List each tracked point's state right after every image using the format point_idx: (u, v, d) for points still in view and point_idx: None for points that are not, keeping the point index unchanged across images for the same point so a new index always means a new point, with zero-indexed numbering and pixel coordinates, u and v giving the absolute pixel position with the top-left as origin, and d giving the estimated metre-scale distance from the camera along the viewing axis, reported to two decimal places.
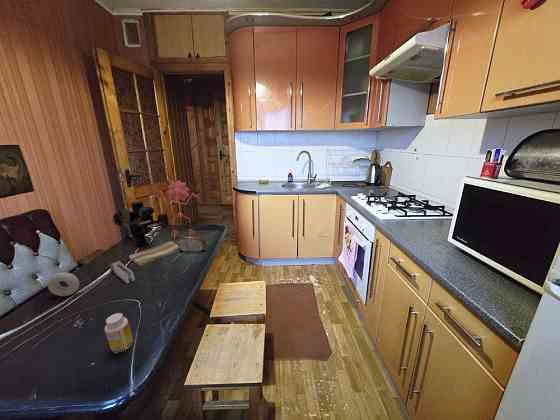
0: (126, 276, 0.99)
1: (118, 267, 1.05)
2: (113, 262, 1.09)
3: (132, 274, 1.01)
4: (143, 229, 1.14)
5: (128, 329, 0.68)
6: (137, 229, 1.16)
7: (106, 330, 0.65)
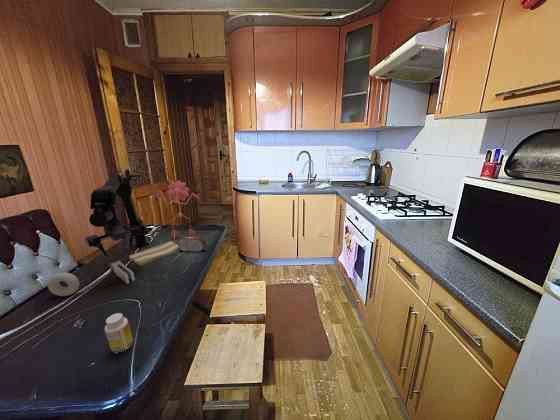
0: (126, 276, 0.99)
1: (118, 267, 1.05)
2: (113, 262, 1.09)
3: (132, 274, 1.01)
4: (102, 253, 0.98)
5: (128, 329, 0.68)
6: None
7: (106, 330, 0.65)
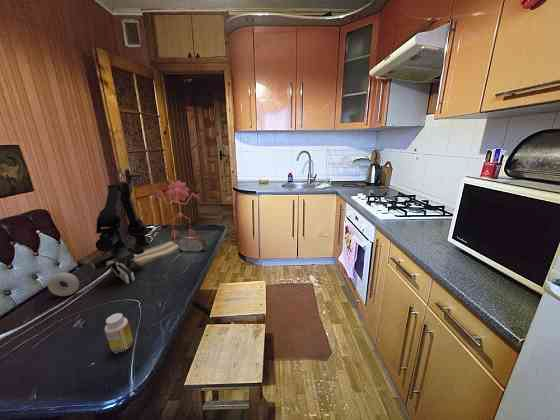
0: (126, 276, 0.99)
1: (118, 267, 1.05)
2: None
3: (132, 274, 1.01)
4: (115, 271, 1.03)
5: (128, 329, 0.68)
6: None
7: (106, 330, 0.65)
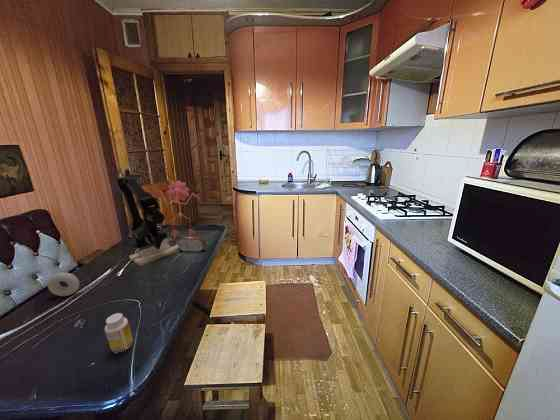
0: (138, 250, 1.18)
1: None
2: (170, 238, 1.30)
3: (140, 252, 1.17)
4: None
5: (128, 329, 0.68)
6: None
7: (106, 330, 0.65)
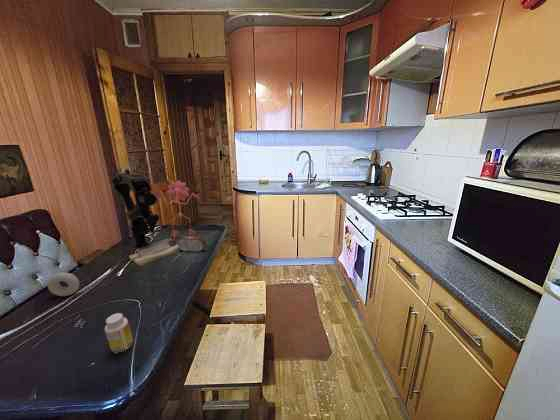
0: (138, 250, 1.18)
1: (157, 242, 1.25)
2: (170, 238, 1.30)
3: (140, 252, 1.17)
4: None
5: (128, 329, 0.68)
6: None
7: (106, 330, 0.65)
